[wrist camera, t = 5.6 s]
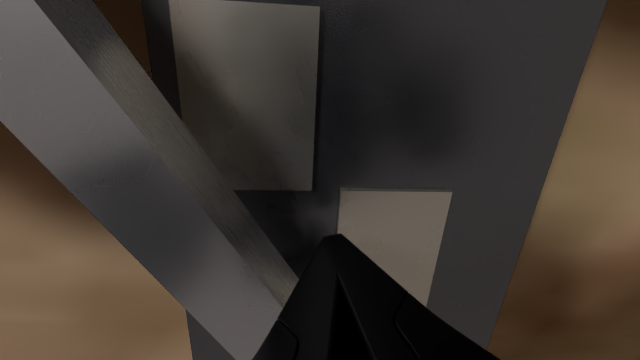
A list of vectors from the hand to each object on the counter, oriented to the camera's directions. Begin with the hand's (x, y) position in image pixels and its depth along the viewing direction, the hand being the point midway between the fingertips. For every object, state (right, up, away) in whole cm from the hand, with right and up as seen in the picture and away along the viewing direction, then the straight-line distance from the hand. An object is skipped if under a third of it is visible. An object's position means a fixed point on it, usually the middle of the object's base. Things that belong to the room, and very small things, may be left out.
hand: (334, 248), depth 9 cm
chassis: (+1, +2, +3) cm, 4 cm away
